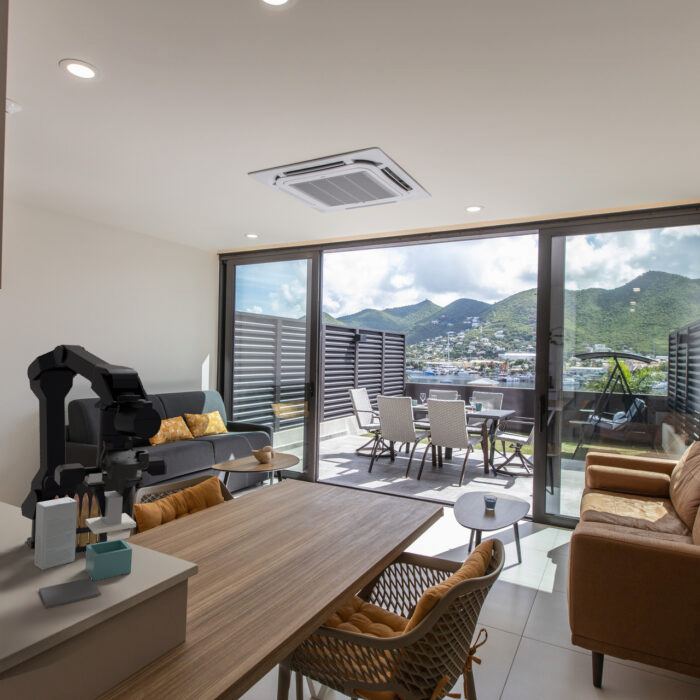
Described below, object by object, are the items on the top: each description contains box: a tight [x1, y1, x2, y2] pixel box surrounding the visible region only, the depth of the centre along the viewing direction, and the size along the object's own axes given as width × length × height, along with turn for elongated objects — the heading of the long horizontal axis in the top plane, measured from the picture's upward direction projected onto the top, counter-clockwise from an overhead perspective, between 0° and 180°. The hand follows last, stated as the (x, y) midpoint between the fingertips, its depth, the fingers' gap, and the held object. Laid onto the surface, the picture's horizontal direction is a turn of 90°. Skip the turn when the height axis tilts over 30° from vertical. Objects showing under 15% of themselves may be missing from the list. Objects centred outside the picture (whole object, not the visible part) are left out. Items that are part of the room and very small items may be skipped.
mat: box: [38, 576, 102, 609], centre depth 86 cm, size 8×8×1 cm
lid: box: [86, 490, 137, 534], centre depth 96 cm, size 7×7×6 cm
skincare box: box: [34, 497, 77, 571], centre depth 98 cm, size 6×4×12 cm
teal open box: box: [84, 538, 133, 582], centre depth 95 cm, size 6×6×4 cm
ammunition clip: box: [55, 490, 108, 554], centre depth 104 cm, size 11×2×12 cm, turn 120°
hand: (110, 515), depth 96 cm, fingers closed on lid, 2 cm apart
